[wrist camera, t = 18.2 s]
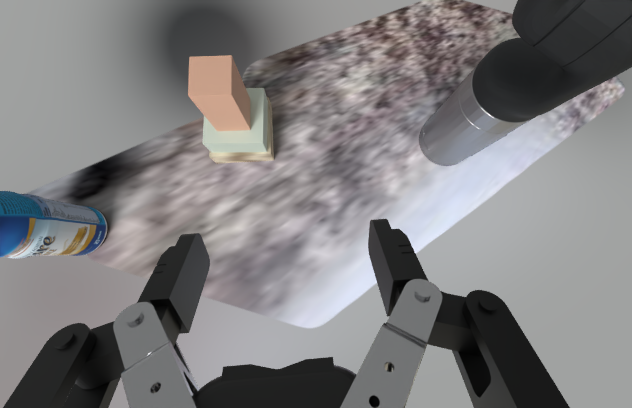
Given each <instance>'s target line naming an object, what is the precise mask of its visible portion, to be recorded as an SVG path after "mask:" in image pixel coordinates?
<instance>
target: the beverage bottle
mask: <svg viewBox="0 0 632 408" xmlns="http://www.w3.org/2000/svg"><path fill="white" fill-rule="evenodd" d="M106 234H107V222H106V219H105V217H104V216H103V214H102V213H101V212H99V211H98V210H97V209H95V208H92V207H88V206H79V205H74V204H69V203H64V202H59V201H54V200H49V199H44V198H42V197H40V196H36V195H30V194H17V193H15V192H10V191H9V192H8V191H0V257H9V258H26V257H30V256H43V255H73V256H78V255H86V254H89V253H91V252H93V251H95V250H96V249H97V248H98V247H99V246H100V245H101V244H102V243H103V241H104V239H105V237H106Z"/></svg>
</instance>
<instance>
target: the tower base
mask: <svg viewBox="0 0 632 408" xmlns="http://www.w3.org/2000/svg"><path fill="white" fill-rule="evenodd" d="M267 100H268V124H267V152H229V153H212V152H211V151H210V158H211V159H212V160H214V161H215V162H216V163H217V164H218V163H236V162H253V161H270V160H274V150H273V125H272V106H271V103H270V100H269V97H267Z"/></svg>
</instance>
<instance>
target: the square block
mask: <svg viewBox="0 0 632 408" xmlns="http://www.w3.org/2000/svg"><path fill="white" fill-rule="evenodd" d="M188 96H189V97H190V98H191V100H192V101H193V102H194V103H195V105H196V106H197V107H198V108H199V109H200V111H201V112H202V113H203V114H204V116H205V117H206V118H207V119H208V121H209V122H210V123H211V124H212V125H213V127H214V128H215V129H216V130H217V131H240V130H251V125H250V97H249V95H248V93H247V90H246V88H245V86H244V83H243V81H242V79H241V76H240V74H239V72H238V69H237V67H236V65H235V62H234V60H233V58H232V56H231V55H230V56H202V57H190V61H189V88H188Z"/></svg>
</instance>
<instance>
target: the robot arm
mask: <svg viewBox="0 0 632 408" xmlns="http://www.w3.org/2000/svg"><path fill="white" fill-rule="evenodd" d="M512 24H513V27H514V29H515V30H516V32H517V33H518V35H519V36H520V37H521V38H515V39H510V40H507V41H505V42H502V43H500V44H499V45H497V46H496V47H494V48H493V49H492V50H491V51H490V52H489V53H488V54H487V55H486V56H485V57H484V58H483V59H482V60H481V61H480V63H479V64H478V65H477V66H476V67H475V68H474V70H473V71H472V72H471V73H470V74H469V75H468V76H467V77H466V79H465V80H464V81H463V82H462V83H461V84H460V85H459V87H458V88H457V89H456V90H455V91H454V92H453V93H452V94H451V96H450V97H449V98H448V99H447V100H446V101H445V102H444V103H443V105H442V106H441V107H440V108H439V109H438V110H437V111H436V112H435V114H434V115H433V116H432V117H431V118H430V119H429V120H428V121H427V123H426V124H425V125H424V126H423V128H422V130H421V132H420V136H419V143H420V147H421V149H422V151H423V153H424V154H425V156H426V157H427V158H428V159H429V160H431V161H432V162H434V163H436V164H439V165H444V166H450V165H455V164H458V163H459V162H461V161H463V160H464V159H466V158H468V157H470V156H472V155H474V154H476V153H477V152H479V151H481V150H482V149H484V148H486V147H488V146H489V145H491V144H493V143H494V142H496V141H498V140H499V139H501V138H503V137H504V136H506V135H507V134H508V133H510V132H511V131H513V130H515V129H516V128H518V127H520V126H521V125H523V124H525V123H526V122H528V121H530V120H531V119H533V118H535V117H536V116H538V115H541V114H544V113H546V112H548V111H550V110H552V109H554V108H555V107H557V106H559V105H561V104H562V103H564V102H566V101H568V100H570V99H572V98H574V97H576V96H577V95H579V94H581V93H583V92H585V91H587V90H589V89H591V88H593V87H595V86H597V85H599V84H601V83H603V82H605V81H607V80H609V79H611V78H613V77H615V76H616V75H618V74H620V73H622V72H624V71H625V70H627V69H629V68H631V67H632V0H518V1H517V4H516V6H515V9H514V12H513V17H512ZM368 248H369V255H370V259H371V262H372V266H373V269H374V273H375V276H376V280H377V283H378V286H379V290H380V293H381V297H382V300H383V303H384V306H385V310H386V314H387V316H390V317H389V319H388V321H387V323H386V324H385V323H384V324H383V325H382V327H381V328H380V330H379V332H378V334H377V336H376V338H375V340H374V342H373V344H372V346H371V348H370V350H369V352H368V354H367V356H366V358H365V360H364V362H363V364H362V366H361V368H360V370H359V372H358V374H357V375H356V374H355V373H353V372H352V371H350V370H348V369H345V368H343V367H340V366H336V365H334V364H333V357H328V358H317V359H306V360H303V361H301V362H298V363H295V364H293V365H290V366H287V367H284V368H282V369H271V368H266V367H261V366H256V365H251V364H249V365H239V366H227V367H223V372H222V376H220V377H218V378H216V379H214V380H212V381H210V382H209V383H207V384H206V385H205V386H203V387H202V388H201V389H199V387H198V385H197V383H196V381H195V380H194V377H193V376H192V373H191V371H190V369H189V367H188V365H187V363H186V361H185V359H184V356H183V354H182V352H181V350H180V348H179V346H178V344H177V342H176V340H177V337H178V335H179V334H180V333H189V331H190V328H191V324H192V321H193V318H194V315H195V312H196V309H197V306H198V302H199V299H200V296H201V293H202V290H203V287H204V283H205V280H206V277H207V274H208V271H209V266H210V259H209V255H208V253H207V250H206V247H205V245H204V242H203V240H202V237H201V235H200V234H199V233H196V234H183V235H181V236H180V237H179V240H178V242H177V244H176V246H171V247H169V248H168V249H167V250H166V251H165V252H164V253H163V254H162V255H161V257H160V259H159V261H158V263H157V266H156V267H155V269H154V271H153V274H152V275H151V277H150V279H149V281H148V282H147V284H146V286H145V288H144V290H143V292H142V294H141V296H140V298H139V300H138V302H137V303H136V304H133V305H131V306H129V307H127V308H126V309H125V310H123V311H122V312H121V313H120V314H119V315H118V317H117V318H116V320H115V321H114V322H111V323H108V324H105V325H102V326H100V327H97V328H94V329H90V328H88V326H87V325H85V324H82V323H77V324H72V325H69V326H67V327H65V328H63V329H61V330H59V331H58V332H57V333H55V334H54V335H53V336H52V337H51V338H50V339H49V340H48V341H47V342H46V344H45V345H44V347H43V348H42V350H41V351H40V353H39V354H38V356H37V357H36V359H35V360H34V362H33V363H32V365H31V366H30V368H29V369H28V371H27V372H26V374H25V376H24V377H23V378H22V380H21V381H20V383H19V385H18V386H17V387H16V389H15V391H14V392H13V394H12V395H11V396H10V398H9V400H8V401H7V403H6V404H5V406H4V407H3V408H108V407H109V405H110V402H111V400H112V397H113V394H114V392H115V390H116V387H117V385H118V382H119V380H120V377H121V378H122V382H123V385H124V389H125V393H126V396H127V400H128V404H129V407H130V408H405V405H406V402H407V400H408V397H409V394H410V391H411V388H412V385H413V382H414V380H415V377H416V374H417V371H418V369H419V366H420V363H421V360H422V357H423V355H424V352H425V349H426V346H427V344H429V345H433V346H437V347H442V348H446V349H450V350H452V351H453V354H454V356H455V359H456V362H457V364H458V367H459V370H460V372H461V375H462V377H463V380H464V382H465V385H466V388H467V390H468V393H469V396H470V398H471V401H472V403H473V406H474V408H570V407H569V406H568V404H567V403H566V401H565V399H564V398H563V396H562V394H561V393H560V391H559V390H558V388H557V386H556V385H555V383H554V381H553V380H552V378H551V377H550V375H549V373H548V372H547V370H546V369H545V367H544V365H543V364H542V362H541V360H540V359H539V357H538V356H537V354H536V352H535V351H534V349H533V348H532V346H531V344H530V343H529V341H528V339H527V338H526V336H525V335H524V333H523V331H522V330H521V328H520V326H519V325H518V323H517V322H516V320H515V318H514V317H513V316H512V314H511V312H510V310H509V309H508V307H507V305H506V304H505V303H504V302H503V301H502V300H501V299H500V298H499V297H498V296H496V295H494V294H492V293H490V292H487V291H482V290H475V291H472V292H470V293H469V294H468V295H467V297H462V296H457V295H451V294H447V293H444V292H442V291H440V290H439V288H438V287H437V286H436V285H434V284H433V283H431V282H429V281H428V279H427V277H426V275H425V273H424V271H423V269H422V267H421V265H420V262H419V260H418V258H417V256H416V254H415V253H414V250H413V248H412V246H411V243H410V241H409V239H408V237H407V236H406V235H405V234H404V233H403V232H402V231H401V230H400V229H391V227H390V225H389V222H388V220H387V219H378V220H371V221H370V229H369V242H368ZM74 383H75V384H74ZM73 385H74V386H73Z"/></svg>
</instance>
